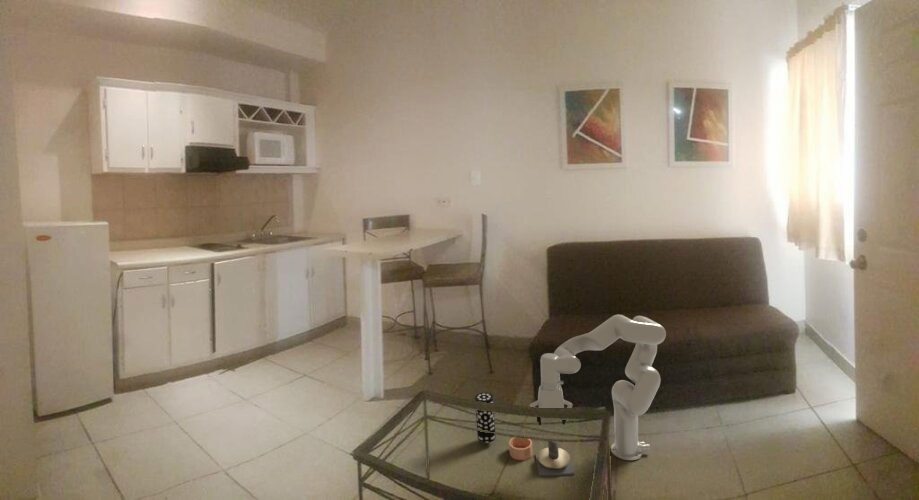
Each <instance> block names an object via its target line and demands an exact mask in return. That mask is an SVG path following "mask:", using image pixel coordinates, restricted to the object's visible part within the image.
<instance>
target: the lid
mask: <svg viewBox="0 0 919 500" xmlns="http://www.w3.org/2000/svg"><path fill="white" fill-rule="evenodd" d="M549 439H556V438H554V437H551V438H549ZM547 444H548V447H545V448H542V449H541V450H540V451H538V452H537V453H538V460H539V462H540V463H541V464H542V465H544V466H546V467H548V468H562V467H565V466H566V465H568V463H569V461H571V458H570V457H571V456H570V454H569V452H568V451H567V450H565V449H563V448H561V447H559V441H558V442H552V441H548V440H547ZM567 452H568V453H567Z"/></svg>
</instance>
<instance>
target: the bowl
mask: <svg viewBox="0 0 919 500" xmlns="http://www.w3.org/2000/svg"><path fill="white" fill-rule="evenodd" d="M514 437H515V436H514ZM514 437H511V438H510V439H509V440H508V447H509V456H510V457H511V458H512V459H513V460H518V461H526V460H530V459H531V458H532V456H533V455H534V450H533V440H532V439H531V438H529V439H523V438H514Z"/></svg>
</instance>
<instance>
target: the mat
mask: <svg viewBox="0 0 919 500" xmlns="http://www.w3.org/2000/svg"><path fill="white" fill-rule="evenodd" d="M566 452H567V453H568V454H569V452H568V451H566ZM538 453H539V452H535V453H534V454H535V460H536V465H537V471H538V476H539V477H545V476H547V477H549V476H573V475H574V476H575V470H574V468H573V465H572V462H571V460H570V461H569V463H568V465H566V466H565V467H562V468H548V467H546V466H544V465H542V464H541V463H540V462H539V460H538Z"/></svg>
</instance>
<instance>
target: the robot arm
mask: <svg viewBox="0 0 919 500" xmlns="http://www.w3.org/2000/svg"><path fill="white" fill-rule="evenodd" d="M666 336H667V331H666V329H665V327H664V326H663V325H661V324H660V323H659V322H656V321H655V320H652V319H650V318H649V317H646V316H643V315H636V316H634V317H633V318H632V319H631V318H629V317H627V316H625V315H623V314H615V315H612V316H611V317H609V318H608V319H606V320H605V321H604V322H602V323H601V324H600V325H598V326H597V327H595V328H594V329H592V330H591V331H590V332H587V333H584V334H580V335H576V336H573V337H571V338H569V339H567V341H566V340H565V341H564V342H563V343H562V344H560V345H559V346H558V347H557V348H556V349H555V351H554V352H552V353H551V352H550V353H549V352H547V353H543V354H542V355H541V356H540V360H539V361H540V385H539V387H538V393H537V400H535V401H533V402H531V403H529V408H530V407H534V408H536V407H538V408H564V409H565V405H566V408H571V409H572V408H573V403H572V402H570V401H569V400H566V399H564V395H563V394H564V393H563V388H562V385H564V380H561V376H560V375H561V374H568V375H571V374H575V373H577V372H579V370H580V369H581V365H582V363H581V361H580V359H579V358H578V357H577V356H576V355H578V353H581V352H584V351H603V350H605V349H607V347H609V346H610V345H612V344H613V343H615V342H616V341H617V340H619V339H621V340H623V341H624V342H625V341H626V342H628V343H633V344H635V347H634V348H633V351H632V353H631V356H630V357H629V359H628V362H627V363H626V366H625V368H624V373H625V375H626V377H627V378H628V379H630V380H631V382H630V381H628V380H625V379H620V380H618V381H615V383H614V384H612V388H611V398H612V403H613V413H614V414H613V415H614V417H613V419H614V421H613V424H614V425H613V426H614V431H613V432H614V443H612V444H611V446H610V451H611V453H612V454H613V455H614V456H615V457H616V458H618V459H621V460H624V461H635V460H636V461H637V460H639V459H641V458H642V457H643V450H651V446H650V443H649V444H648V443H647V444H646V443H645V441H639V416H642V415H644V414H645V413H646V412H647V411H648V410H649V409H650V406H651V404H652V403H653V400H654V398H655V396H656V394H657V392H658V390H659V388H660V385H661V375H660V373H659V371H658V370H657V369H656V368H654V367H653V363H654V360H655V358H656V355H657V353H658V345H660V344H662V343H663V342H664V341H665V339H666ZM633 383H634V384H635V385H634V384H633ZM536 422H537V423H538V425H539V426H542V417H541V418H540V417H537V416H536ZM566 422H567V419H566V420H562V419H561V423H562V425H563V426H564V425H566Z"/></svg>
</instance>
